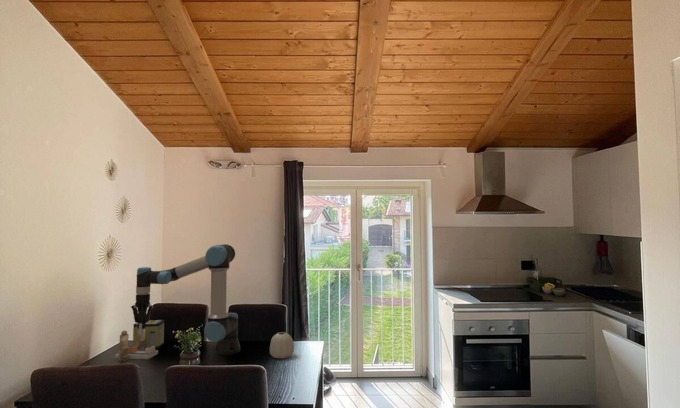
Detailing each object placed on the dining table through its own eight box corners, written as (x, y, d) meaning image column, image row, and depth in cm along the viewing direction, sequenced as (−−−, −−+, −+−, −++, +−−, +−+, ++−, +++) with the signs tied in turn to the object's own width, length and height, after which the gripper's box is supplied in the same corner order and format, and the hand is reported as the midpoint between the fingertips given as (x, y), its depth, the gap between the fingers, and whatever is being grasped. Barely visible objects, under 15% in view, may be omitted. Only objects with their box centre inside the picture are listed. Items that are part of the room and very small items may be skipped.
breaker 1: (137, 350, 229) (137, 344, 229) (132, 353, 224) (132, 346, 224) (132, 350, 229) (132, 343, 229) (127, 353, 224) (127, 346, 224)
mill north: (129, 359, 220) (130, 329, 222) (124, 361, 216) (125, 331, 217) (122, 358, 221) (123, 329, 222) (117, 361, 216) (118, 331, 218)
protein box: (138, 345, 249) (139, 320, 250) (164, 344, 250) (164, 319, 252) (132, 349, 238) (132, 324, 239) (158, 348, 240) (159, 323, 241)
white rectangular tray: (158, 353, 230) (158, 349, 230) (148, 359, 220) (148, 354, 220) (126, 352, 232) (126, 348, 232) (115, 358, 222) (115, 353, 222)
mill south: (146, 350, 236) (146, 323, 238) (141, 352, 232) (142, 324, 233) (139, 350, 237) (140, 323, 238) (134, 352, 232) (135, 324, 234)
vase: (281, 351, 233) (281, 329, 234) (298, 355, 225) (298, 332, 226) (264, 357, 222) (264, 334, 223) (281, 362, 214) (282, 337, 215)
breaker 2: (154, 351, 228) (155, 344, 228) (150, 353, 223) (150, 346, 223) (150, 350, 228) (150, 344, 228) (145, 353, 223) (145, 346, 223)
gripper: (157, 293, 232) (155, 333, 230) (136, 292, 233) (134, 332, 231) (149, 295, 224) (148, 336, 222) (128, 294, 225) (126, 335, 224)
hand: (141, 334), depth 227 cm, fingers closed
